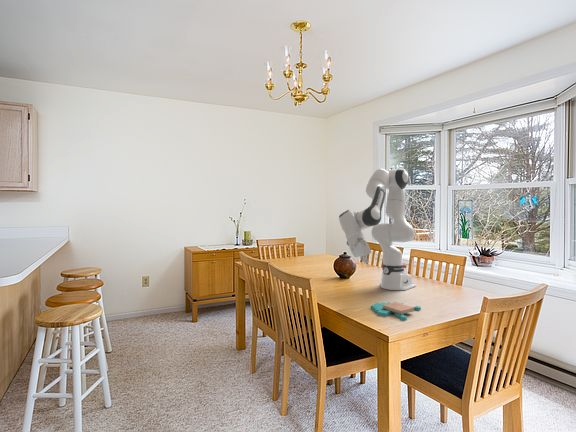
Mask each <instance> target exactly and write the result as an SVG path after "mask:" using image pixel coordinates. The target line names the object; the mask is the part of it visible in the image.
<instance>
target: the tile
mask: <svg viewBox="0 0 576 432" xmlns="http://www.w3.org/2000/svg"><path fill="white" fill-rule="evenodd" d="M411 306H412V305H407V304H404V303H403V304H401V302H397V301H393V302H390V303H389V304H385V305H383V309H386V310H389V311H392V312H395V313H399V314H404V315H405V314H407V313H411V312H413V310H414V307H415V306H412V307H411ZM414 311H415V310H414Z"/></svg>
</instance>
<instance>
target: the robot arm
mask: <svg viewBox="0 0 576 432" xmlns="http://www.w3.org/2000/svg"><path fill="white" fill-rule="evenodd" d="M409 181H410V176H409V173H408V171H407V170H406V169H404V168H397V169H388V170H386V169H384V168H378V169H376V170H375V171H374V172H373V174H372V175H371V176H370V178H369V180H368V183H367V184H366V188H365V192H366V195H367V196H368V197H369V198H371V199H372V200H371V203H370V205H369V206H367V208H365V209H363V210H362V211H353V210H351V209H347V210H345V211H344V212H342V213H340V214H339V216H338V220H339V224H340V226H341V228H342V231H343V232H344V234H345V238H346V245H347V246H348V247H349V249H350V251H351V254H352V255H353V257H354V258H359V257H360V260H361V261H362V262H363V264H364V265H367V264H368V263H369V260H368V255H370V254H372V249H371V248H370V245H369V243H368V242H367V241H366V240H365V239H366V238H365V236H364V233H363V232H362V231H363V230H365V229H369V228H371V236H372V239H374V240H375V241H376V242H377V243H378V244H379V247H380V248H381V250H382V264H381V265H382V267H381V269H382V272H381V281H380V282H379V285H380V288H381V289H384V290H388V291H389V290H390V291H408V290H410V289H412V288H415V287H416V285H417V284H416V283H414V282H413V281H412V276H411V275H410V274H408V272H407V271H405V269H407V267H408V266H407V264H403V253H402V251H401V250H400V248H397V247H396V246H395V245H394V242H395V243H409V242H412V241H413V240H414V238H415V228H414V226H412V225H411V224H410V223H409V222H408V221H407V219H406V213H405V212H406V210H405V208H406V189H405V188H406V186H407V185H408V183H409ZM387 190H388V192H387V193H386V191H387ZM386 194H387V197H386ZM385 198H386V203H385ZM384 203H385V215H386V216H387V217H388V218H389V219H391V220H393V223H380V222H381V220H382V210H383V206H384Z"/></svg>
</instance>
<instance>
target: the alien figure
mask: <svg viewBox="0 0 576 432" xmlns="http://www.w3.org/2000/svg"><path fill="white" fill-rule="evenodd" d="M389 303H391V301H390V302H389V301H388V302H375V303H373V304H372V305H370V310H372V311H373V312H374V313H375V314H377V315H378V316H380V317H388V316H390V315H391V314H394V316H396V317H397V318H399V319H400V321H405V322H406V321H407V320H408V316H407V315H405V314H399V313H395V312H392V311H389V310H386V309H383V305H385V304H389ZM400 303H401V302H400ZM401 304H404V303H401ZM410 306H411V307H414V310H413V311H418V312H419V311H421V310H422V306H419V305H416V306H412V305H410ZM413 311H412V312H413Z"/></svg>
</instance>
